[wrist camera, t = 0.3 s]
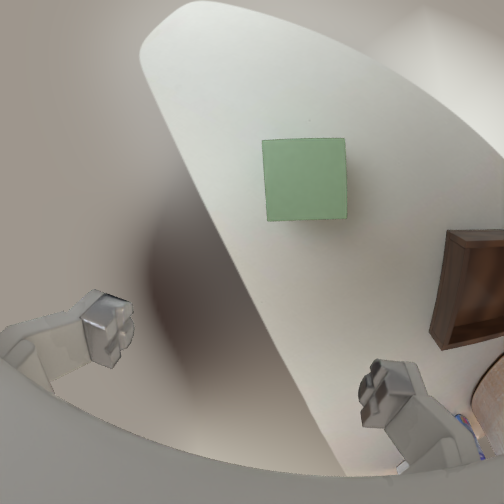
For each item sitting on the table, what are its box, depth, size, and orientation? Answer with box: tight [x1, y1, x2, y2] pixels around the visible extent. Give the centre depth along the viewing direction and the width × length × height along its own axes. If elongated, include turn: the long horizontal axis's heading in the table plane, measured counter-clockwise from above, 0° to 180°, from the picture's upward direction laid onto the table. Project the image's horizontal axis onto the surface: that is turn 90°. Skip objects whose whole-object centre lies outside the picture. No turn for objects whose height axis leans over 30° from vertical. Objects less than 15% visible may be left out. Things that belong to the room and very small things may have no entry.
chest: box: [429, 230, 504, 351], centre depth 26 cm, size 18×14×4 cm
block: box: [262, 138, 347, 222], centre depth 22 cm, size 5×5×11 cm
